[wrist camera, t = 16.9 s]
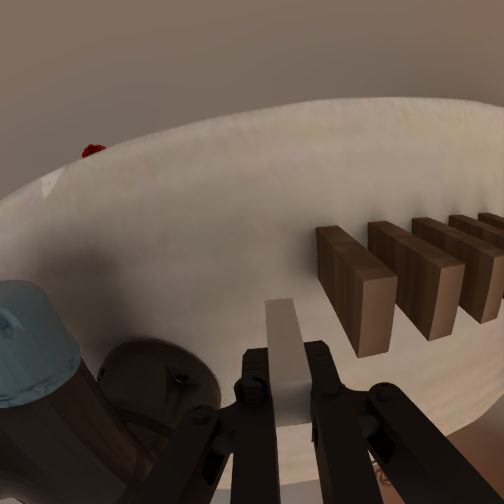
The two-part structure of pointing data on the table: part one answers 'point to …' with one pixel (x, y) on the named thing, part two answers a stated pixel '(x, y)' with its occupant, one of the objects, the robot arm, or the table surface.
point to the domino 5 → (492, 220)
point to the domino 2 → (419, 277)
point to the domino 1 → (357, 290)
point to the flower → (92, 150)
